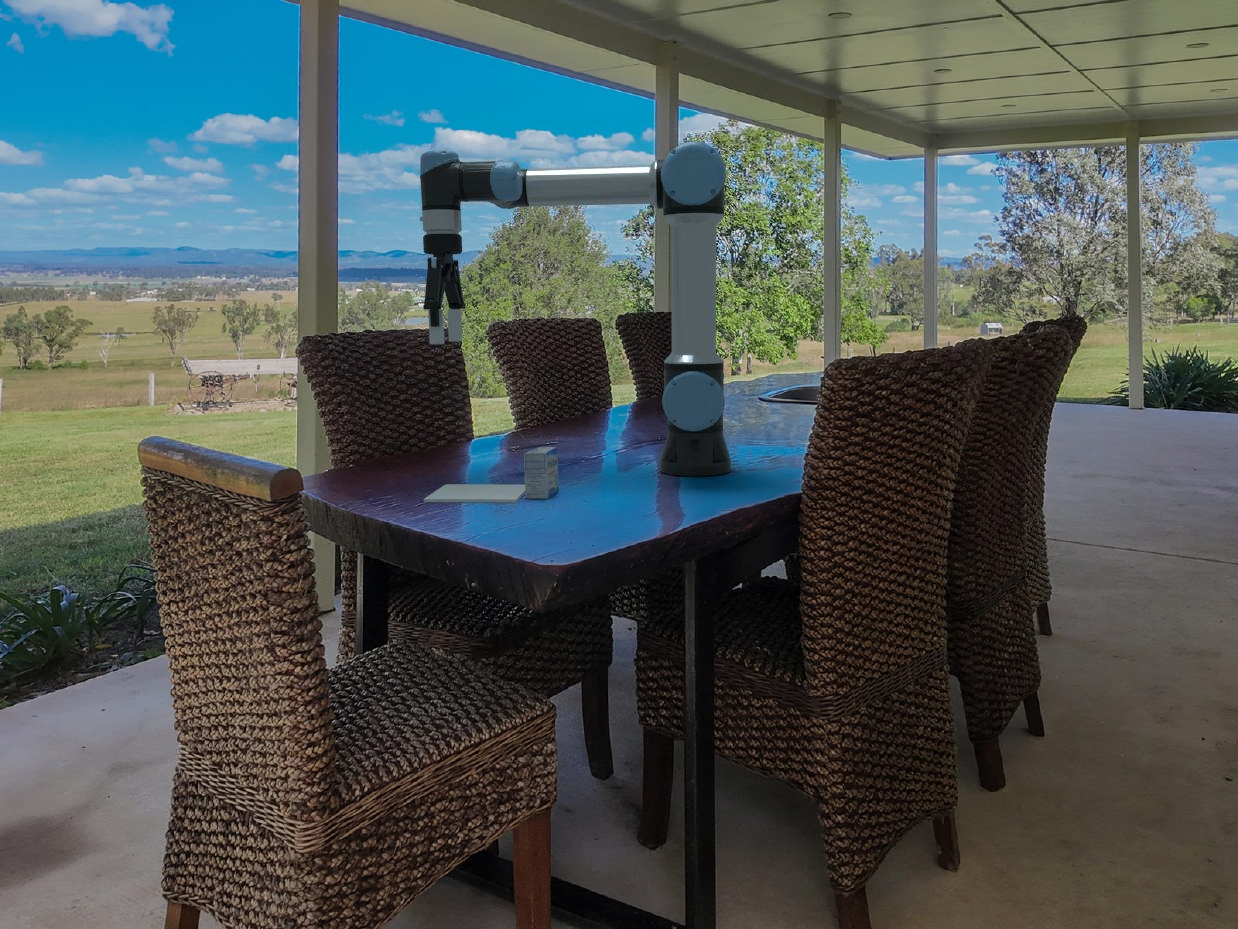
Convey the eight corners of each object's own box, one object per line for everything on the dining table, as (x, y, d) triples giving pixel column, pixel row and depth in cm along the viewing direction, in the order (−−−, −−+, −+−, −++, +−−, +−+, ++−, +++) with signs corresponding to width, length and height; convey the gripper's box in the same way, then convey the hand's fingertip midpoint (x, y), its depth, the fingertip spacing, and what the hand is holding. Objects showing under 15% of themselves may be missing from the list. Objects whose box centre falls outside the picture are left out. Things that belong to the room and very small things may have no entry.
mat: (531, 487, 198) (531, 484, 198) (515, 502, 183) (515, 499, 183) (445, 487, 200) (445, 484, 200) (424, 502, 185) (423, 499, 185)
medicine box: (548, 499, 186) (546, 452, 185) (524, 499, 187) (523, 452, 186) (559, 491, 194) (558, 446, 192) (536, 491, 195) (535, 446, 193)
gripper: (441, 237, 212) (445, 340, 215) (403, 229, 187) (409, 345, 191) (476, 237, 211) (480, 339, 214) (443, 228, 186) (448, 345, 190)
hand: (446, 342), depth 202 cm, fingers open, 13 cm apart
